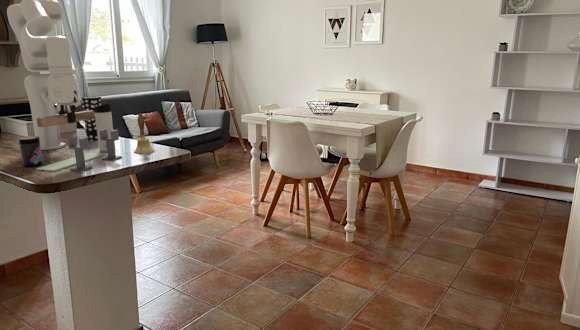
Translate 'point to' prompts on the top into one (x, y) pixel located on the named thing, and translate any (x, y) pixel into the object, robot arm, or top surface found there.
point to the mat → (69, 162)
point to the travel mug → (103, 124)
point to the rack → (84, 145)
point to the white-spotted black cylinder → (91, 123)
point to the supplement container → (30, 151)
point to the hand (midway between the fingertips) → (68, 122)
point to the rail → (64, 118)
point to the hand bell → (143, 139)
